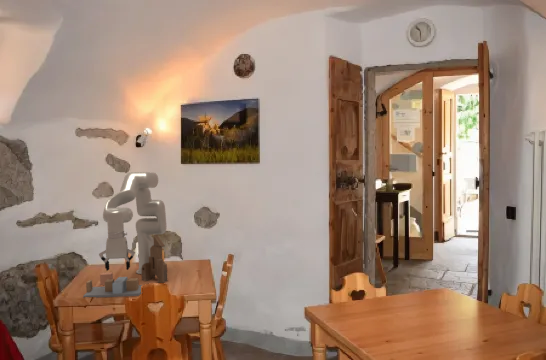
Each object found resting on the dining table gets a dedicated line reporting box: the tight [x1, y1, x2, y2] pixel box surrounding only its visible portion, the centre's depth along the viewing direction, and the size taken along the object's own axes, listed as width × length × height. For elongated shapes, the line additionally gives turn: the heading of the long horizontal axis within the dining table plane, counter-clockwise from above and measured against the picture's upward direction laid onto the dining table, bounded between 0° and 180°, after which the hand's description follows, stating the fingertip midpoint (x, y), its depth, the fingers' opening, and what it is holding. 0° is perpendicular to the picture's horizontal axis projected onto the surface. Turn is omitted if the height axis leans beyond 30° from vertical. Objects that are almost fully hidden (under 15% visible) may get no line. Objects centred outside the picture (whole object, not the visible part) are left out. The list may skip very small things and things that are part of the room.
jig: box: [82, 277, 143, 298], centre depth 263 cm, size 16×27×6 cm, turn 94°
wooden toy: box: [141, 234, 169, 284], centre depth 285 cm, size 15×7×25 cm, turn 55°
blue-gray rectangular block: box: [112, 276, 129, 294], centre depth 263 cm, size 13×4×5 cm, turn 3°
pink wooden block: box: [99, 272, 114, 285], centre depth 279 cm, size 4×6×6 cm
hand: (117, 269), depth 258 cm, fingers open, 9 cm apart
